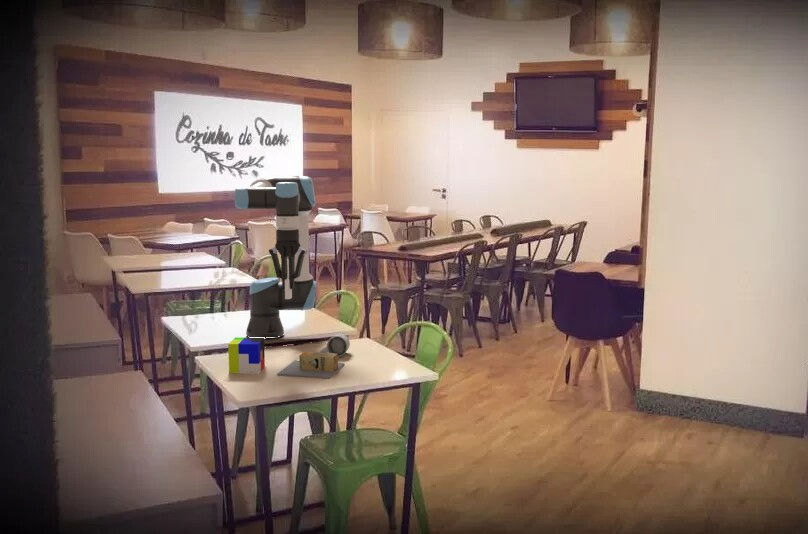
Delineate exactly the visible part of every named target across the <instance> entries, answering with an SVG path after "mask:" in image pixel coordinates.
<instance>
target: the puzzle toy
mask: <svg viewBox="0 0 808 534" xmlns="http://www.w3.org/2000/svg"><path fill="white" fill-rule="evenodd" d="M227 345H228V346H227V347H228V348H227V349H228V351H227V352H228V374H260V373H261V371H262V370H263V368H264V367H265V366H266V362H265V361H266V360H265V357H266V355H265V354H266V353H265V339H264V338H248V337H239V336H238V337H234V338H233V339H232V340H231V341H230V342H229V343H228V344H227Z"/></svg>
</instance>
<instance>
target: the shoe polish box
mask: <svg viewBox="0 0 808 534" xmlns="http://www.w3.org/2000/svg"><path fill="white" fill-rule="evenodd" d="M298 359H299V360H298V361H299V364H300V370H315V371H332V372H334V371H335V370H336V369H337V368H338V363H339V357H338V354H334V353H321V352H315V351H313V352H312V351H303V352H302V353H300V354H299V357H298Z"/></svg>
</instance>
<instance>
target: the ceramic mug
mask: <svg viewBox="0 0 808 534" xmlns="http://www.w3.org/2000/svg"><path fill="white" fill-rule="evenodd" d="M347 336H348V335H346V334H343V333H336V334H334V335H333V336H332V337H330V338H329V339H328V341H327V342H326V343H327V344H326V347H324V348H322V349H321V350H320V351H319V353H334V354H338V358H341V357H342V356H344V355H345V354H346V353H347V351H348V350H349V348H350V344H351V343H350V340H349V337H347Z"/></svg>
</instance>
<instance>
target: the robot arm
mask: <svg viewBox="0 0 808 534" xmlns="http://www.w3.org/2000/svg"><path fill="white" fill-rule="evenodd" d="M314 187H315V186H314V182H313V179H312V178H311V177H310V176H306V175H271V176H270V175H269V176H266V177H263V178H259V179H256V180H254V181H253V182H252V183H251V184H250V185H249V186H247V187H246V186H242V187H240V186H239V187H236V188H235V189H234V206H235V208H236V209H237V210H238V209H239V210H275V228H277V229H276V230H275V235H276V236H275V239H276V241H275V242H276V243H275V245H274V247H273V248H270V249H268V253H269V255H270V256H271V258H272V263H273V267H274V268H273V269H274V271H275V272H274V273H275V275H276V277H266V278H260V279H256V280H254V281H252V282H251V283H250V284H249V293H248V294H249V304H250V305H249V308H250V310H249V312H250V313H249V315H250V316H249V322H248V324H247V327H246V330H245V331H246V333H245V334H246V335H247V336H249V337H265V338H266V337H278V336H282V335H283V334H284V335H285V327H284V326H283V323H282V320H281V317H280V311H306V310H312V309H313V308H314V305H315V299H316V291H317V285H318V284H317V283H318V282H317V281H316V280H314V276H313V275H312V274H311V273H310V247H309V246H310V243H309V242H310V240H309V239H310V236H309V235H310V234H309V233H310V231H309V230H310V229H309V228H310V227H309V214H310V213H311V212H312V211H313V207H315V206H316V205H317V204H316V195H315V194H316V193H315V188H314ZM278 253H279V255H280V260H279V256H278ZM280 261H281V262H280ZM280 279H281V281H280ZM246 335H245V336H246ZM247 336H246V337H247ZM282 337H283V336H282Z"/></svg>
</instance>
